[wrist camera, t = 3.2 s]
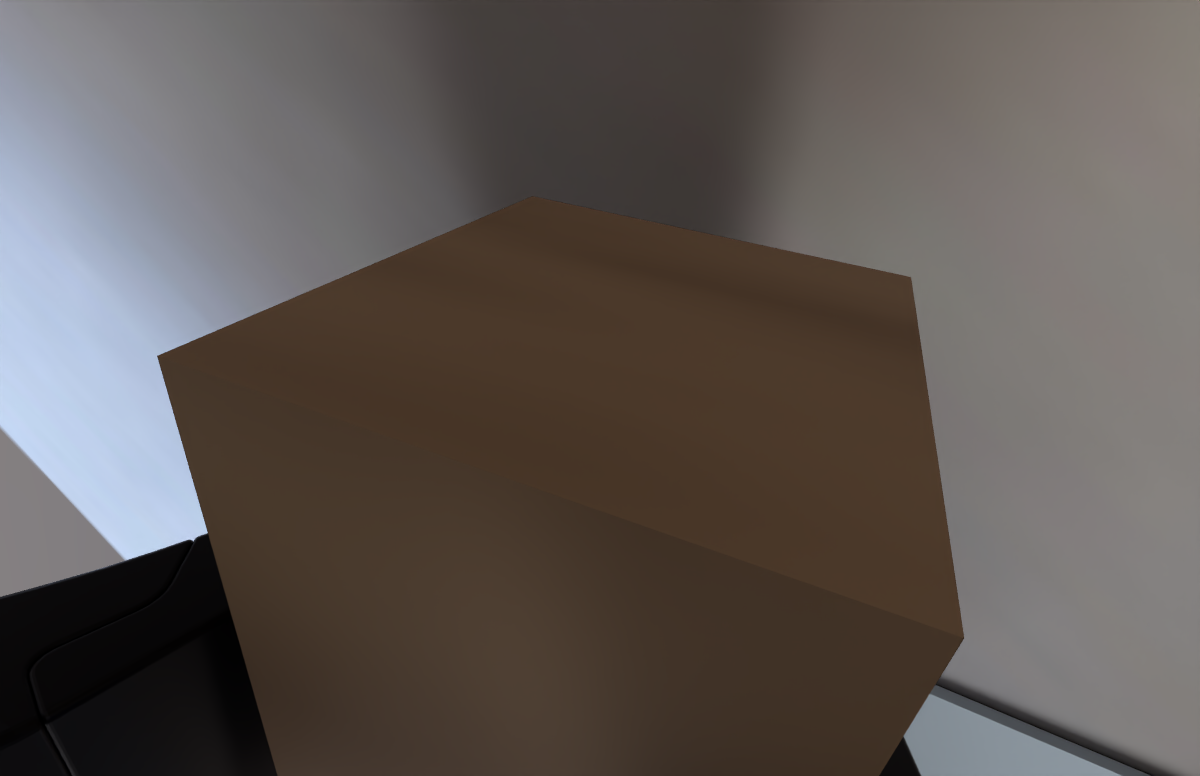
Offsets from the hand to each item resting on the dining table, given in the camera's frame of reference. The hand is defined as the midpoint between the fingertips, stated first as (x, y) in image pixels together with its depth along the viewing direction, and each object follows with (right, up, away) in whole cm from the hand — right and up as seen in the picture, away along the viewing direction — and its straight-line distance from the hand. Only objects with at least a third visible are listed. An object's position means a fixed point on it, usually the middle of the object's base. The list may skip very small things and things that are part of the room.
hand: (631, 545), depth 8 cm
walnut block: (0, +1, +1) cm, 1 cm away
